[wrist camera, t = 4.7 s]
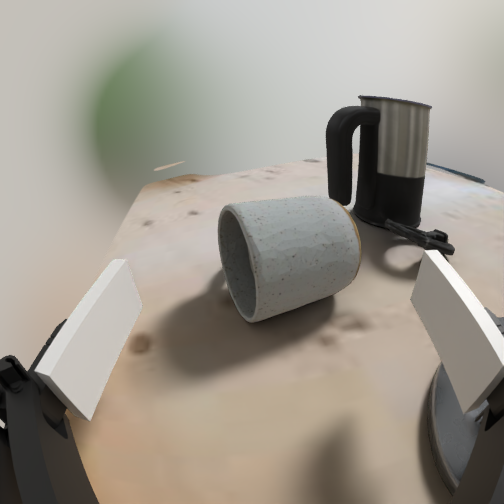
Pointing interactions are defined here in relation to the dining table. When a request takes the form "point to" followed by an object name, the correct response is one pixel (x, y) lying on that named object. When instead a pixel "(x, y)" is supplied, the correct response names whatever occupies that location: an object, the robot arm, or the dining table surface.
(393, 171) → the milk frother
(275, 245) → the ceramic mug
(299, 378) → the dining table surface
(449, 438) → the plate
